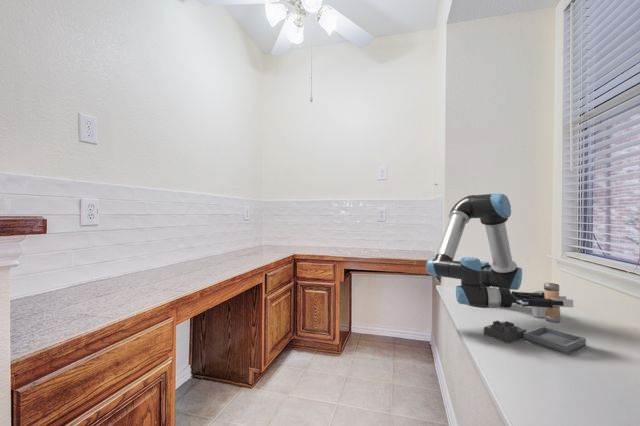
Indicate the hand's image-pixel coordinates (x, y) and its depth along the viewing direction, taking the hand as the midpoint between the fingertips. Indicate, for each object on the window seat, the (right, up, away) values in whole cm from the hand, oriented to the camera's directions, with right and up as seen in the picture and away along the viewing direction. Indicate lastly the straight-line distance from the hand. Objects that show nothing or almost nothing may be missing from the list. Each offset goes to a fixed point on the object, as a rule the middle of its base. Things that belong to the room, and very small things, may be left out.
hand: (569, 301), depth 108 cm
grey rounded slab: (+14, -17, +30) cm, 37 cm away
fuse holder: (-18, -17, +9) cm, 27 cm away
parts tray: (-4, -17, +2) cm, 17 cm away
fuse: (-5, -8, +2) cm, 9 cm away
